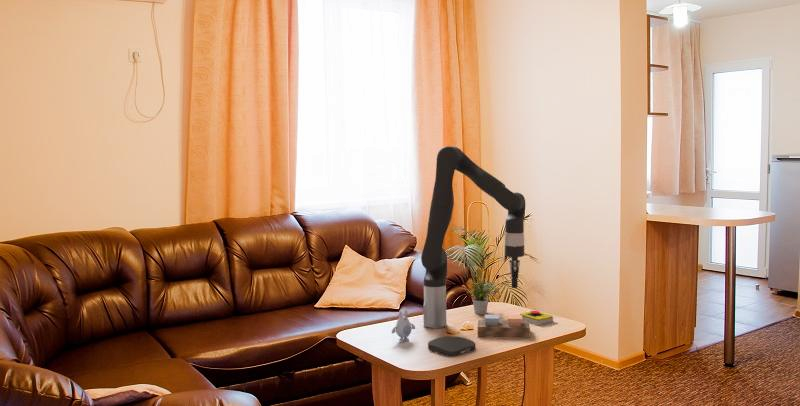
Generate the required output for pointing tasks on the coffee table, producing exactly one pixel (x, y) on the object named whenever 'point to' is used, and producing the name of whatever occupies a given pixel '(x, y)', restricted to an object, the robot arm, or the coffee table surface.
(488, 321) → the slate-blue key
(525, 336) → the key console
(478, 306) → the house plant
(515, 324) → the terracotta key
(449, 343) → the media streaming box
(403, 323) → the toy figure
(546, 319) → the emergency button
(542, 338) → the coffee table surface
